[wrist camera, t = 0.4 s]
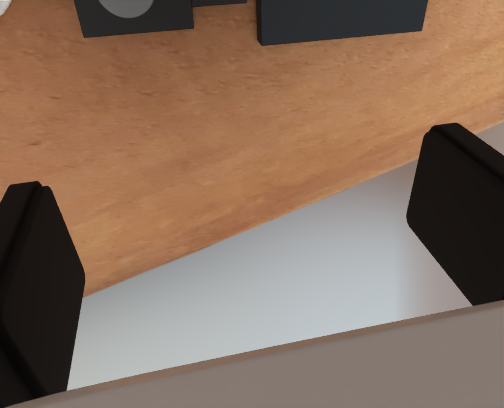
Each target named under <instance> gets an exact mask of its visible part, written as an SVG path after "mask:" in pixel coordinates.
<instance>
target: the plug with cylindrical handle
mask: <svg viewBox="0 0 504 408" xmlns="http://www.w3.org/2000/svg"><path fill="white" fill-rule="evenodd" d="M74 3H75V7H76V10H77V14H78V18H79V22H80V25H81V29H82V33H83V37H84V38H89V37H101V36H113V35H124V34H136V33H148V32H160V31H171V30H183V29H193V28H194V22H193V13H192V7H200V6H212V5H225V4H238V3H247V0H74Z"/></svg>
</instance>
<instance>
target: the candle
mask: <svg viewBox="0 0 504 408" xmlns="http://www.w3.org/2000/svg"><path fill="white" fill-rule="evenodd" d="M11 1H12V0H0V16H1V15H2V14H3V13H4V12H5V11H6V9H7V8H8V7H9V5H10V3H11Z"/></svg>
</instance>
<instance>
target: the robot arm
mask: <svg viewBox="0 0 504 408" xmlns="http://www.w3.org/2000/svg"><path fill="white" fill-rule="evenodd" d="M406 218H407V223H408V225H409V227H410V228H411V229H412V230H413V232H414V233H415V234H416V236H417V237H418V238H419V239H420V241H421V242H422V243H423V244H424V246H425V247H426V248H427V249H428V250H429V252H430V253H431V254H432V256H433V257H434V258H435V259H436V261H437V262H438V263H439V264H440V266H441V267H442V268H443V269H444V271H445V272H446V273H447V274H448V276H449V277H450V278H451V279H452V280H453V282H454V283H455V284H456V286H457V287H458V288H459V289H460V290H461V292H462V293H463V294H464V296H465V297H466V298H467V299H468V300H469V302H470V303H471V304H472V305H473V306H471V307H466V308H462V309H456V310H451V311H446V312H441V313H436V314H431V315H426V316H421V317H416V318H411V319H407V320H401V321H396V322H392V323H386V324H381V325H376V326H371V327H366V328H361V329H356V330H351V331H347V332H342V333H337V334H332V335H327V336H322V337H318V338H313V339H307V340H302V341H298V342H293V343H288V344H283V345H278V346H273V347H268V348H264V349H259V350H254V351H250V352H244V353H240V354H235V355H230V356H225V357H221V358H216V359H211V360H207V361H202V362H197V363H192V364H187V365H182V366H178V367H173V368H168V369H163V370H159V371H154V372H149V373H144V374H140V375H135V376H131V377H126V378H122V379H118V380H113V381H109V382H104V383H100V384H95V385H91V386H86V387H82V388H78V389H73V390H69V391H67V385H68V379H69V374H70V368H71V362H72V356H73V350H74V344H75V339H76V333H77V327H78V321H79V315H80V309H81V303H82V298H83V292H84V286H85V273H84V269H83V266H82V264H81V261H80V259H79V256H78V254H77V251H76V249H75V246H74V244H73V242H72V239H71V237H70V234H69V232H68V229H67V227H66V224H65V222H64V219H63V217H62V214H61V212H60V210H59V207H58V205H57V202H56V200H55V197H54V195H53V192H52V190H51V188H50V187H49V186H43V187H42V185H41V184H40V183H39V182H38V181H34V182H26V183H19V184H12V185H10V186H9V187H8V189H7V191H6V193H5V195H4V197H3V199H2V201H1V203H0V408H504V156H503V155H502V154H501V153H499V152H498V151H497V150H495V149H494V148H492V147H491V146H490V145H488V144H486V143H485V142H484V141H482V140H481V139H480V138H478V137H477V136H476V135H474V134H473V133H471V132H470V131H469V130H467V129H466V128H464V127H463V126H462V125H460V124H458V123H449V124H442V125H434V126H433V127H431V129H430V130H429V132H427V133H426V134H425V135H424V138H423V141H422V146H421V150H420V155H419V160H418V164H417V169H416V173H415V178H414V183H413V187H412V192H411V196H410V200H409V205H408V209H407V215H406Z"/></svg>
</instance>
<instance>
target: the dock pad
mask: <svg viewBox="0 0 504 408" xmlns="http://www.w3.org/2000/svg"><path fill="white" fill-rule="evenodd" d="M427 3H428V0H257V40H258V41H259V42H260V44H261V45H262V46H266V45H277V44H287V43H298V42H309V41H319V40H330V39H341V38H352V37H362V36H373V35H384V34H395V33H405V32H416V31H422V27H423V22H424V17H425V12H426V8H427Z"/></svg>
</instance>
